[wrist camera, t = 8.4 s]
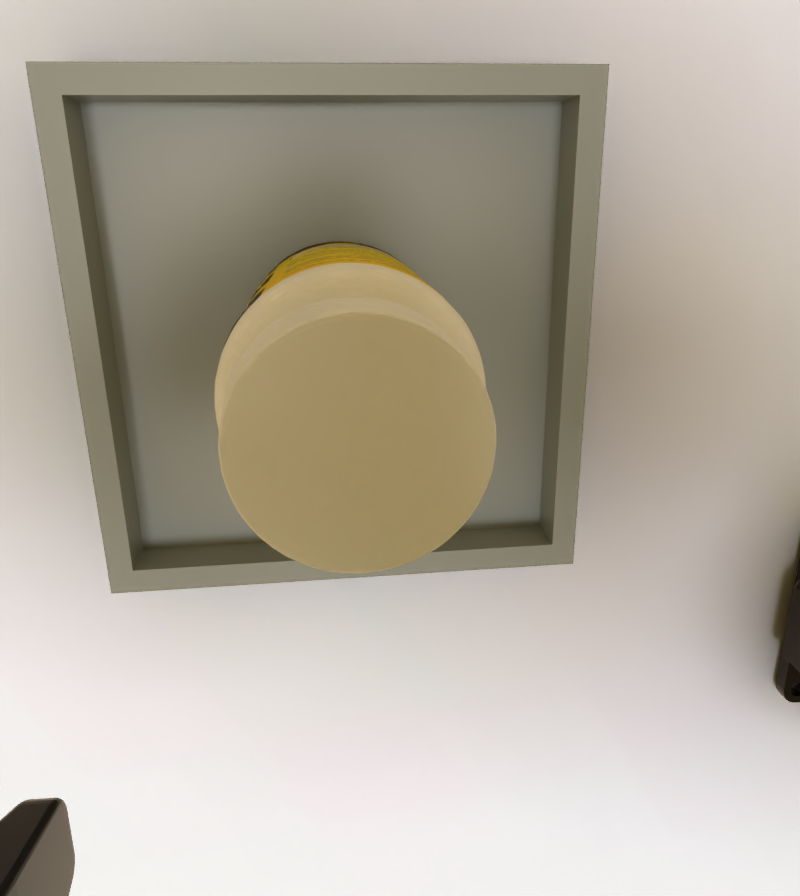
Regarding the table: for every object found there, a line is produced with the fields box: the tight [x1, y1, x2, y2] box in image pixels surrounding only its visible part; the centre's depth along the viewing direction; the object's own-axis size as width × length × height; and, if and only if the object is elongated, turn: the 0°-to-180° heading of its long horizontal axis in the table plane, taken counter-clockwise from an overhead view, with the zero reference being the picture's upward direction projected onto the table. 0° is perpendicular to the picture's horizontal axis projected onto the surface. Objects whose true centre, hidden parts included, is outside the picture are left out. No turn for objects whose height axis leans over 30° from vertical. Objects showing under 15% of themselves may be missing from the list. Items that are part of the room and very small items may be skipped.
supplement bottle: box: [214, 241, 496, 574], centre depth 14 cm, size 5×5×8 cm
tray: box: [26, 62, 609, 593], centre depth 18 cm, size 12×12×2 cm
